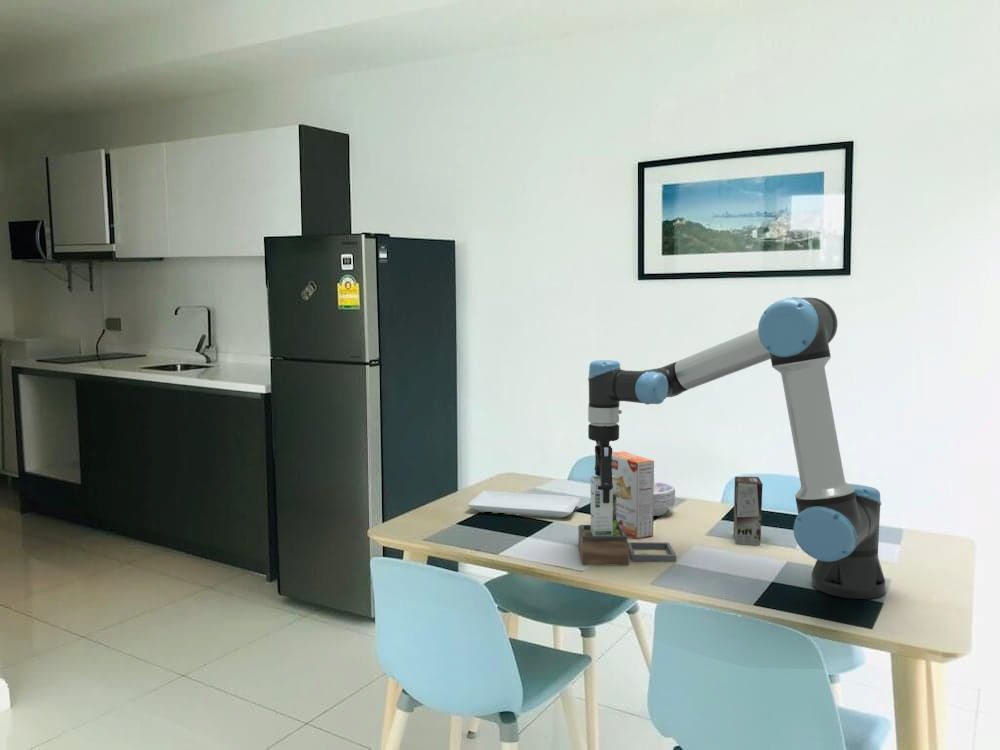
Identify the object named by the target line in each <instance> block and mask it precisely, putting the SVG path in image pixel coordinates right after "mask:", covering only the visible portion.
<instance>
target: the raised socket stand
mask: <svg viewBox="0 0 1000 750" xmlns="http://www.w3.org/2000/svg"><path fill="white" fill-rule="evenodd" d="M577 538H578V540H577V541H578V549H579V554H580V559H581V565H582V566H589V565H588V564H593V565H592V566H601V565H600V564H617V565H616V566H629V565H630V564H629V563H630V562H629V561H630V560H629V557H630V554H629V544H628V542H629V541H628V538H627V534H625V532H624V529H623V527H622V525H616V536H593V535H592V533H591V524H580V525H578V537H577ZM595 564H596V565H595ZM618 564H620V565H618ZM622 564H623V565H622Z"/></svg>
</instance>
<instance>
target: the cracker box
mask: <svg viewBox="0 0 1000 750" xmlns="http://www.w3.org/2000/svg"><path fill="white" fill-rule="evenodd" d="M612 475H613V476H614V477H615V479H616V481H617V508H616V525H622V527H623V529H624V532H625V534H626V536H630V537H632V538H633V539H635V540H639V539H643V538H648V537H653V536H654V517H653V496H654V482H655V476H654V475H655V460H653V459H649V458H645V457H642V456H639V455H636V454H633V453H630V452H626V451H615V452H613V451H612Z"/></svg>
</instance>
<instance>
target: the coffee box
mask: <svg viewBox="0 0 1000 750" xmlns="http://www.w3.org/2000/svg"><path fill="white" fill-rule="evenodd" d="M733 491H734V496H733V497H734V499H733V537H734V541H735V544H736V545H752V546H761V536H762V509H763V507H762V506H763V482H762V480H761V479H760V477H759V476H734V490H733Z"/></svg>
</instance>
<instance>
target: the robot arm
mask: <svg viewBox="0 0 1000 750" xmlns="http://www.w3.org/2000/svg"><path fill="white" fill-rule="evenodd" d="M837 330H838V317H837V314H836V313H835V310H834V309H833V307H832V306H830V304H829V303H827V302H826V301H825V300H822V299H820V298H817V297H795V296H794V297H787V298H784V299H780V300H777V301H775V302H773V303H772V304H770V305H769V306H768V307H767V308H766V309H765V310H764V311H763V313H762V314H761V316H760V318H759V322H758V326H757V328H756V329H753V330H751V331H749V332H746V333H744V334H741V335H738V336H736V337H734V338H732V339H729V340H727V341H724V342H721V343H719V344H717V345H714V346H712V347H709V348H706V349H704V350H702V351H699V352H697V353H694V354H692V355H690V356H687V357H685V358H682V359H679V360H677V361H674V362H672V363H670V364H667V365H664V366H662V367H657V368H652V369H645V370H626V369H625V370H624V369H621V364H620V362H619V361H618V360H610V359H609V360H607V359H606V360H605V359H602V360H599V359H598V360H594V361H592V362H590V364H589V367H588V369H589V370H588V378H587V381H588V407H587V408H588V409H587V414H588V415H587V417H588V418H587V419H588V423H589V424H588V426H587V427H588V428H587V432H588V435H587V436H588V437H587V438H588V439H589V440H591V441H594V442H595V443H596V444H595V446H594V453H595V455H594V457H595V458H594V459H595V461H594V463H595V464H594V471H595V472H594V474H595V476H600V479H601V486H598V490H600V516H611V509H612V488H613V485H612V453H613V447H612V445H610V442H615V441H618V440H619V438H620V425H619V422H620V415H621V414H622V409H620V402H626V403H627V402H630V403H636V404H637V403H639V404H645V405H660V404H662V403H664V400H665V399H667V398H673V397H676V396H679V395H681V394H682V393H683V392H687V391H689V390H691V389H694V388H696V387H699V386H702V385H705V384H707V383H710V382H712V381H716V380H718V379H720V378H723V377H725V376H729V375H731V374H733V373H736V372H740V371H742V370H745V369H747V368H751V367H753V366H756V365H759V364H760V363H763V362H766V361H769V360H771V361H770V363H771V368H773V370H775V371H778V373H780V376H781V380H782V386H783V391H784V397H785V402H786V409H787V415H788V419H789V425H790V431H791V437H792V443H793V447H794V453H795V459H796V464H797V470H798V471H797V472H798V474H799V475H798V476H799V481H800V482H799V483H800V488H799V489H798V491H797V492H796V493H795V502H796V509H797V514H798V515H797V516H796V518H795V520H794V523H793V536H794V539H795V541H796V544H797V546H798V547H799V548H800V549H801V551H802V552H804V553H805V554H807V555H808V556H809V557H811V558H813V559H815V560H816V561H815V564H814V567H813V569H812V571H811V579H810V581H811V582H810V583H811V585H812V587H813V588H814V589H816V590H818V591H820V592H822V593H825V594H827V595H831V596H834V597H839V598H844V599H852V600H869V599H876V598H880V597H882V596H884V595H885V594H886V579H885V575H884V571H883V569H882V566H881V563H880V558H879V539H880V517H881V506H882V502H881V493H880V491H879V490H878V489H877V488H876V487H872V486H868V485H862V484H856V483H855V484H854V483H847V482H846V479H845V475H844V468H843V463H842V458H841V457H842V456H841V451H840V446H839V441H838V434H837V429H836V423H835V418H834V414H833V413H834V412H833V408H832V402H831V397H830V390H829V385H828V379H827V375H826V368H825V367H826V365H827V364H828V362H829V361H830V359H831V357H832V356H831V350H830V346H829V343H830V342H832V340H834V338H835V336H836V334H837ZM604 483H608V484H604Z"/></svg>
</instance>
